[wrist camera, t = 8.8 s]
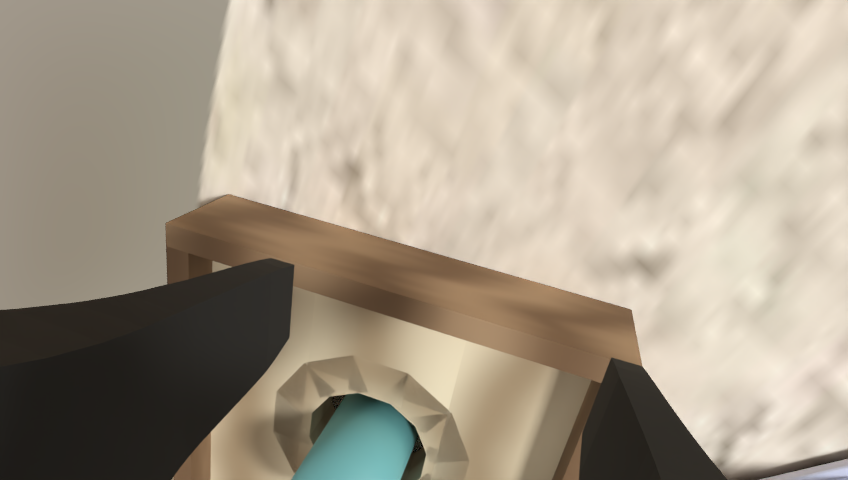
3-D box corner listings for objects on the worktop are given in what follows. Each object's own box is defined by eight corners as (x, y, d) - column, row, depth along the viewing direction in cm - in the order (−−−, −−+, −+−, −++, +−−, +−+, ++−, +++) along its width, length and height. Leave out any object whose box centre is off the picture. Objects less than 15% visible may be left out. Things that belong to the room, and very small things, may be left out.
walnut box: (631, 309, 20) (642, 369, 17) (516, 591, 28) (507, 674, 24) (228, 194, 23) (165, 222, 20) (222, 474, 31) (175, 532, 27)
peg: (439, 427, 25) (393, 558, 19) (376, 448, 27) (313, 575, 20) (396, 362, 24) (332, 476, 18) (333, 388, 26) (255, 500, 20)
